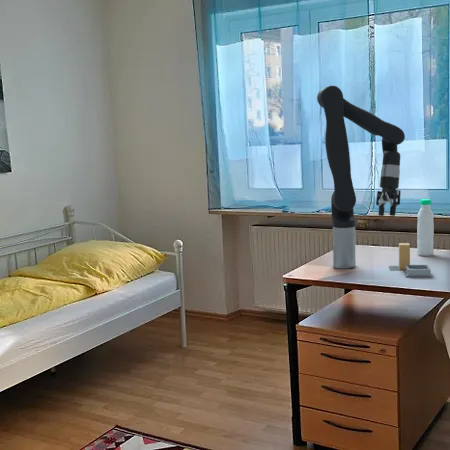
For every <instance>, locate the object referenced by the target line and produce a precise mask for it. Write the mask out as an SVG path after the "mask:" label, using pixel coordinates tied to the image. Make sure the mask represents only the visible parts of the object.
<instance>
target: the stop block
mask: <svg viewBox="0 0 450 450" xmlns="http://www.w3.org/2000/svg"><path fill="white" fill-rule="evenodd" d="M405 265H411V244H410V243H409V242H399V243H398V266H399V269H405Z"/></svg>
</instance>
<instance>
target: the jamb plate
mask: <svg viewBox="0 0 450 450" xmlns="http://www.w3.org/2000/svg"><path fill="white" fill-rule="evenodd" d="M388 269H389V272H390V271H391V272H392V271H393V272H396V271H400V272H403V270H405V269H399V265H388Z"/></svg>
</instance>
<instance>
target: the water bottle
mask: <svg viewBox="0 0 450 450" xmlns="http://www.w3.org/2000/svg"><path fill="white" fill-rule="evenodd" d="M419 205H420V209H419V211H418V213H417V225H416V226H417V227H416V229H417V232H416V233H417V234H416V235H417V241H416V243H417V244H416V245H417V249H416V254H417V255H418V256H421V257H431V256H433V255H435V253H434V245H435V244H434V243H435V242H434V232H435V231H434V230H435V229H434V224H435V223H434V218H435V215H434V213H433V211H432V209H431V205H432V200H431V199H428V198H424V199H423V198H422V199H420V201H419Z"/></svg>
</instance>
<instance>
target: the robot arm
mask: <svg viewBox="0 0 450 450" xmlns="http://www.w3.org/2000/svg"><path fill="white" fill-rule="evenodd" d="M316 99H317V103H318V105H319V106H320V107H321V108H322V109H323V110H324V115H325V121H326V125H325V126H326V127H325V137H324V138H325V139H324V140H325V141H324V145H325V152H326V153H325V154H326V157H327V164H328V166H329V169H330V171H331V176H332V177H333V178H332V179H333V189H334V191H333V193H332V194H331V199H330V201H331V202H330V203H331V220H332V221H331V222H332V256H333V257H332V261H333V262H332V263H333V264H332V265H333V269H334V268H335V269H343V270H344V269H345V270H347V269H353V268H355V267H356V263H357V262H356V261H357V260H356V258H357V257H356V219H355V214H354V207H355V205H356V203H357V196H356V193H355V188H354V184H353V181H352V180H353V179H352V174H351V172H352V171H351V170H352V168H351V158H350V157H351V156H350V155H351V154H350V147H349V140H348V139H349V138H348V134H347V133H348V132H347V127H346V123H345V119H346V120H349V121H350V122H351V123H353V124H355V125H356V126H357V127H359V128H361V129H362V130H365V131H367V132H368V133H370V134H371V135H372V136H378V137H381V148H382V165H381V170H380V180H379V181H380V182H379V187H380V188H381V189H382V190H381V191H380V190H378V191H377V193H376V200H375V202H376V203H375V205H376V206H377V207H378V216H381V217H384V216H385V208H386V207H385V206H386V204H387V203H389V205H390V206H389V216H391V217H395V216H396V211H397V207H398V206H399V205H401V189H400V190H399V185H400V172H401V171H400V168H401V167H400V165H401V153H400V152H399V151H398V145H400V144H402V143H403V142H404V141H405V139H406V135H405V132H404V131H403V129H402V128H401V127H399V126H397V125H394V124H392V123H390V122H387V121H385V120H383V119H381V118H380V117H378V116H377V115H375V114H374V113H372V112H370V111H368V110H365V109H363V108H362V107H359V106H357V105H355V104H354V103H351V102H350V101H348V100H347V99H345V98H344V94H343V91H342V89H341V88H339V87H338V86H336V85H327V86H324V87H323V88H321V89H320V90H319V91H318V93H317V96H316Z"/></svg>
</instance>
